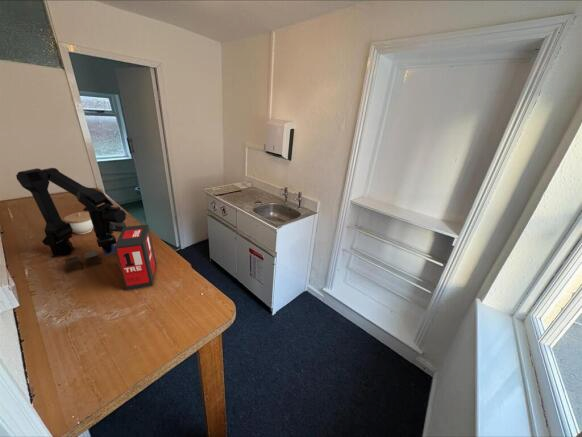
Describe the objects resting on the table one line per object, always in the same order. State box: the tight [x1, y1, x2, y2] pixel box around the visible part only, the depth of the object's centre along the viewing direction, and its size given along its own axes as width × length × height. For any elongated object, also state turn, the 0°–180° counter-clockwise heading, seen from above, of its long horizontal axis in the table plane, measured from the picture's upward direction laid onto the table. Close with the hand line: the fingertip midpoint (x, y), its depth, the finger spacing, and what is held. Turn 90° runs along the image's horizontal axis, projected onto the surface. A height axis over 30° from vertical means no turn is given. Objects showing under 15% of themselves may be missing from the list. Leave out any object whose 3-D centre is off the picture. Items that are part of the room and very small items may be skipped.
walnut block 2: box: [84, 250, 101, 267], centre depth 104 cm, size 4×4×4 cm
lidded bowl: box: [63, 211, 94, 235], centre depth 127 cm, size 13×13×11 cm
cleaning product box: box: [114, 224, 157, 291], centre depth 96 cm, size 16×9×20 cm, turn 23°
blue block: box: [101, 244, 116, 257], centre depth 107 cm, size 4×4×4 cm
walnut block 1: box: [64, 255, 83, 273], centre depth 100 cm, size 4×4×4 cm
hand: (109, 250), depth 107 cm, fingers closed on blue block, 4 cm apart
